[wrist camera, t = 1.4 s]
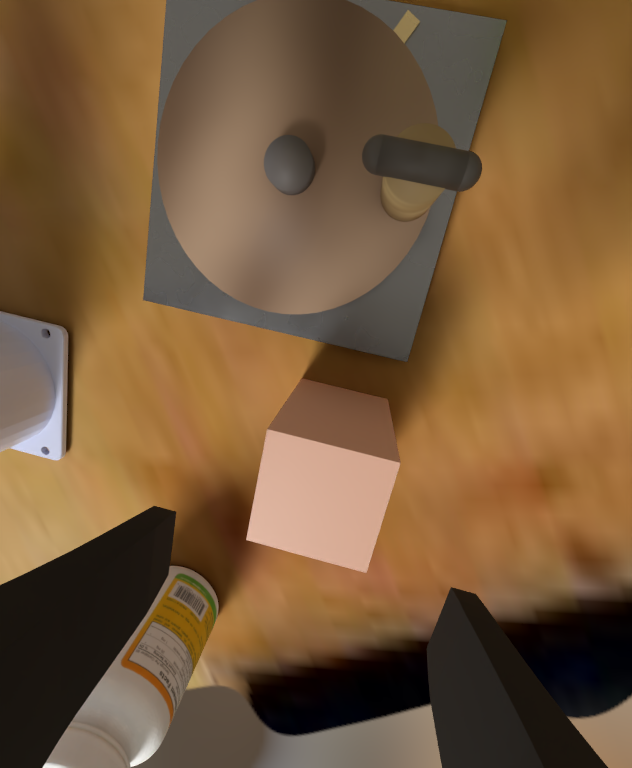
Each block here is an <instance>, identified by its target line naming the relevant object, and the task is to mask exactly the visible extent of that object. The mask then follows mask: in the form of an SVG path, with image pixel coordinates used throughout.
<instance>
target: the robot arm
mask: <svg viewBox="0 0 632 768" xmlns="http://www.w3.org/2000/svg"><path fill="white" fill-rule="evenodd" d="M48 330H49V332H50V336H49V335H48V332H47V331H48ZM67 378H68V333H67V331H66V329H65V328H64V327H62V326H59V325H55V324H51V323H47V322H43V321H39V320H35V319H31V318H27V317H22V316H18V315H14V314H10V313H6V312H2V311H0V452H2V451H4V450H6V449H8V448H11V449H15V450H18V451H22V452H26V453H30V454H33V455H37V456H41V457H44V458H48V459H52V460H59V459H61V458H63V457H64V456H65V454H66V425H67ZM47 448H48V449H49V450H48V449H47ZM175 518H176V512H175V511H171V510H167V509H164V508H160V507H157V506H153V507H151V508H149V509H148V510H146V511H144V512H142V513H140V514H138V515H137V516H135V517H133V518H131V519H129V520H128V521H126V522H124V523H122V524H120V525H119V526H117V527H115V528H113V529H111V530H109V531H108V532H106V533H104V534H102V535H100V536H99V537H97V538H95V539H93V540H91V541H89V542H87V543H85V544H83V545H82V546H80V547H78V548H76V549H74V550H72V551H70V552H68V553H66V554H64V555H62V556H60V557H58V558H56V559H54V560H52V561H50V562H48V563H46V564H44V565H42V566H40V567H38V568H36V569H34V570H32V571H30V572H27V573H25V574H23V575H21V576H19V577H17V578H15V579H13V580H10V581H8V582H6V583H4V584H2V585H0V768H43V766H44V764H45V763H46V761H47V759H48V758H49V756H50V754H51V753H52V751H53V750H54V748H55V746H56V745H57V743H58V741H59V740H60V738H61V737H62V735H63V734H64V732H65V731H66V729H67V728H68V726H69V725H70V723H71V721H72V720H73V718H74V717H75V715H76V714H77V713H78V711H79V710H80V708H81V707H82V705H83V704H84V703H85V701H86V700H87V698H88V697H89V696H90V694H91V693H92V691H93V690H94V688H95V687H96V686H97V684H98V683H99V681H100V680H101V679H102V677H103V676H104V674H105V673H106V671H107V670H108V669H109V667H110V666H111V664H112V663H113V662H114V660H115V659H116V657H117V656H118V654H119V653H120V652H121V650H122V649H123V647H124V646H125V645H126V643H127V642H128V640H129V639H130V637H131V636H132V634H133V633H134V632H135V630H136V629H137V627H138V626H139V624H140V623H141V622H142V620H143V619H144V617H145V616H146V614H147V612H148V611H149V609H150V607H151V605H152V604H153V602H154V600H155V598H156V597H157V595H158V593H159V591H160V589H161V588H162V586H163V584H164V582H165V580H166V578H167V577H168V575H169V567H170V559H171V551H172V543H173V535H174V526H175ZM427 661H428V677H429V689H430V700H431V706H432V712H433V717H434V723H435V729H436V735H437V740H438V746H439V752H440V758H441V763H442V768H608V767H607V766H606V765H605V763H604V762H603V761H602V760H601V759H600V757H599V756H598V755H597V754H596V752H595V751H594V750H593V749H592V748H591V746H590V745H589V744H588V742H587V741H586V740H585V739H584V738H583V736H582V735H581V734H580V733H579V731H578V730H577V729H576V728H575V726H574V725H573V724H572V723H571V721H570V720H569V719H568V718H567V716H566V715H565V714H564V712H563V711H562V710H561V709H560V707H559V706H558V705H557V703H556V702H555V701H554V700H553V698H552V697H551V696H550V694H549V693H548V692H547V690H546V689H545V688H544V686H543V685H542V684H541V682H540V681H539V680H538V678H537V677H536V676H535V674H534V673H533V672H532V670H531V669H530V668H529V666H528V665H527V664H526V662H525V661H524V660H523V658H522V657H521V655H520V654H519V653H518V651H517V650H516V649H515V647H514V646H513V644H512V643H511V642H510V640H509V639H508V637H507V636H506V635H505V633H504V632H503V631H502V629H501V628H500V626H499V625H498V624H497V622H496V621H495V619H494V618H493V617H492V615H491V614H490V612H489V611H488V610H487V608H486V607H485V606H484V604H483V603H482V602H481V600H480V599H479V598H478V596H477V595H476V594H474V593H470V592H466V591H463V590H459V589H456V588H452V587H451V589H450V591H449V594H448V596H447V599H446V601H445V604H444V606H443V609H442V611H441V614H440V616H439V619H438V621H437V624H436V626H435V629H434V631H433V634H432V637H431V639H430V642H429V644H428V647H427Z"/></svg>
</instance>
